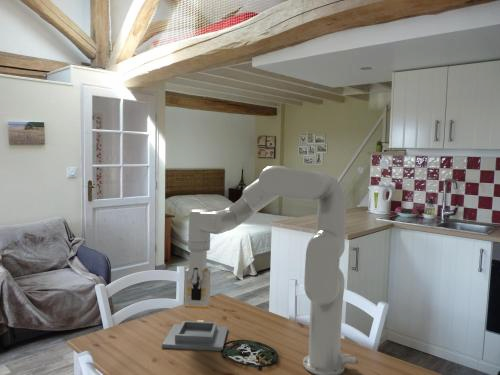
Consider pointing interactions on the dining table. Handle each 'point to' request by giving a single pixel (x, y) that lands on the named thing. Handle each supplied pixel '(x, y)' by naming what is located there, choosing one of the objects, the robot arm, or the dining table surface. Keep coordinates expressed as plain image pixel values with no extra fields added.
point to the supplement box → (205, 291)
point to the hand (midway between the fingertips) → (197, 296)
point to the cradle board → (196, 336)
